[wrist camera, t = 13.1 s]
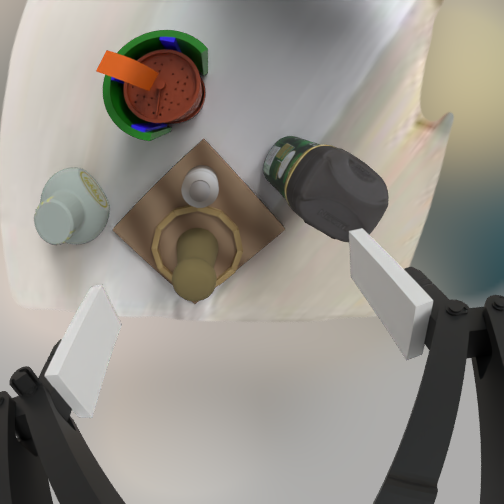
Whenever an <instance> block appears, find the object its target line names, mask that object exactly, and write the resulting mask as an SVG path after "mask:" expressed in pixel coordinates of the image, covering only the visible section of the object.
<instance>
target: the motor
mask: <svg viewBox="0 0 504 504" xmlns="http://www.w3.org/2000/svg"><path fill="white" fill-rule="evenodd" d="M96 71H97V72H100V73H103V74H105V77H104V82H103V99H104V104H105V107H106V110H107V112H108V114H109V116H110V118H111V119H112V121H113V122H114V123H115V124H116V125H117V126H118V127H119V128H120V129H121V130H122V131H124V132H125V133H127V134H129V135H131V136H133V137H135V138H138V139H142V140H147V141H151V140H153V139H155V138H158V137H160V136H162V135H165V134H167V133H169V132H171V128H172V127H167V125H168V124H165V123H172V124H174V123H181V122H185V121H187V120H189V119H191V118H193V117H194V116H195V115H196V114H197V113H198V112H199V111H200V110H201V108H202V106H203V104H204V101H205V86H204V83H203V81H202V79H201V77H200V75H199V72H201V73H202V74H203V76H204V75H205V74H207V73H208V48H207V47H206V46H205V45H204V44H203V43H202V42H200V41H199V40H198V39H196V38H194V37H193V36H191V35H189V34H186V33H183V32H179V31H174V30H159V31H153V32H149V33H146V34H143V35H141V36H139V37H137V38H135V39H133V40H131V41H130V42H129V43H127V44H126V45H125V46H124V47H122V48H121V49H120V50H119V52H118V53H114V52H111V51H108V50H107V51H106V53H105V55H104V57H103V58H102V60H101V62H100V64H99V66H98V68H97V70H96ZM198 71H199V72H198ZM164 122H165V123H164Z"/></svg>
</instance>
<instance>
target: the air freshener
mask: <svg viewBox="0 0 504 504" xmlns="http://www.w3.org/2000/svg"><path fill="white" fill-rule="evenodd" d="M109 208H110V207H109V203H108V200H107V198H106V196H105V194H104V193H103V191H102V189H101V188H100V186H99V185H98V184H97V182H96V181H95V180H94V179H93V177H92V176H91V175H90V174H89V173H88V172H86V171H85V170H84V169H81V168H67V169H63V170H61V171H59V172H57V173H56V174H54V175H53V176H52V177H51V178H50V179H49V180H48V182H47V183H46V185H45V187H44V189H43V191H42V195H41V201H40V204H39V206H38V208H37V209H36V213H35V216H34V222H35V227H36V230H37V232H38V234H39V235H40V236H41V238H42V239H43V240H44V241H46V242H47V243H50V244H52V245H58V244H60V245H61V244H63V243H69V244H76V245H77V244H84V243H87V242H89V241H91V240H93V239H94V238H96V237H97V236H98V235H99V234H100V233H101V232H102V230H103V229H104V227H105V225H106V223H107V220H108V216H109Z"/></svg>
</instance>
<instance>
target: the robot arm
mask: <svg viewBox="0 0 504 504" xmlns="http://www.w3.org/2000/svg"><path fill="white" fill-rule="evenodd" d="M349 244H350V267H351V278H352V279H353V281H354V282H355V284H356V285H357V286H358V288H359V289H360V291H361V292H362V294H363V295H364V297H365V298H366V300H367V301H368V302H369V304H370V305H371V307H372V308H373V310H374V311H375V313H376V314H377V316H378V317H379V319H380V320H381V322H382V323H383V325H384V326H385V328H386V329H387V331H388V332H389V334H390V336H391V337H392V339H393V340H394V342H395V343H396V345H397V346H398V348H399V349H400V351H401V353H402V354H403V356H404V357H405V359H406V360H409V359H412V358H414V357H417V356H419V355H422V353H423V349H424V344H425V345H426V346H427V347H428V349H429V350H430V351H429V355H428V358H427V362H426V366H425V370H424V374H423V377H422V381H421V384H420V388H419V391H418V394H417V397H416V401H415V404H414V407H413V410H412V413H411V416H410V418H409V421H408V424H407V427H406V430H405V432H404V435H403V438H402V440H401V443H400V445H399V448H398V451H397V453H396V455H395V457H394V460H393V462H392V465H391V467H390V469H389V471H388V473H387V476H386V478H385V480H384V482H383V484H382V486H381V488H380V490H379V493H378V494H377V496H376V499H375V501H374V502H373V504H434V502H435V499H436V496H437V492H438V489H437V483H438V479H439V477H440V474H441V470H442V467H443V464H444V461H445V458H446V454H447V451H448V447H449V444H450V440H451V436H452V432H453V428H454V424H455V420H456V415H457V411H458V406H459V401H460V396H461V391H462V385H463V379H464V372H465V365H466V358H472V364H473V370H474V377H475V383H476V391H477V400H478V410H479V421H480V437H481V494H480V504H504V297H503V296H499V295H493V296H490V297H488V298H487V300H486V302H485V306H484V307H478V308H469V307H468V306H467V305H466V304H465V303H463V302H462V301H458V300H449V299H448V298H447V297H446V296H445V295H444V294H443V293H442V292H441V291H440V290H439V289H438V288H437V287H436V286H435V285H434V284H432V282H431V281H430V280H429V279H427V277H426V276H425V275H424V274H423V273H422V272H421V271H420V270H417V269H415V268H413V267H409V268H405V269H403V268H402V267H401V266H400V265H399V264H398V263H397V262H396V261H395V260H394V259H393V258H392V257H391V256H390V255H389V254H388V253H387V252H386V251H385V250H384V249H383V248H382V247H381V246H380V245H379V244H378V243H377V242H376V241H375V240H374V239H373V238H372V237H371V236H370V235H369V234H368V233H367V232H366V231H365V230H364V229H363V228H361V229H357V230H352V231H349ZM121 325H122V324H121V322H120V320H119V318H118V316H117V314H116V312H115V310H114V308H113V306H112V304H111V302H110V300H109V297H108V295H107V293H106V291H105V289H104V287H103V284H102V285H97V286H92V287H90V289H89V291H88V293H87V294H86V296H85V298H84V300H83V301H82V303H81V305H80V307H79V308H78V310H77V312H76V314H75V316H74V318H73V320H72V321H71V323H70V325H69V327H68V329H67V331H66V333H65V334H64V336H63V338H62V339H61V340H60V341H59V342H58V343H57V344H56V345H55V346H54V347H53V349H52V351H51V353H50V356H49V357H48V360H47V362H46V363H45V365H44V367H43V369H42V372H41V374H40V376H39V378H37V376H36V375H35V373H34V372H33V371H32V369H31V368H30V367H22V368H20V369H18V370H17V371H16V372H14V374H13V375H12V376H11V379H10V385H11V387H12V388H13V389H14V390H15V392H16V393H17V394H18V395H19V396H17V397H14V398H11V396H10V395H9V394H8V393H7V392H6V391H2V392H0V504H53V501H52V497H51V492H50V487H49V481H50V484H51V486H52V488H53V490H54V492H55V495H56V497H57V499H58V501H59V503H60V504H125V502H124V501H123V500H122V498H121V497H120V495H119V494H118V493H117V491H116V490H115V488H114V487H113V485H112V484H111V483H110V481H109V479H108V478H107V476H106V475H105V473H104V472H103V470H102V469H101V467H100V466H99V464H98V462H97V461H96V459H95V457H94V456H93V454H92V452H91V451H90V449H89V447H88V446H87V444H86V442H85V440H84V438H83V437H82V435H81V433H80V431H79V429H78V428H77V426H76V424H75V422H74V420H73V419H72V418H71V417H70V413H71V410H73V411H74V412H75V414H76V415H77V416H78V417H80V418H92V417H93V414H94V410H95V407H96V403H97V400H98V396H99V393H100V389H101V386H102V383H103V379H104V376H105V373H106V370H107V367H108V364H109V360H110V357H111V354H112V351H113V348H114V345H115V342H116V339H117V336H118V334H119V330H120V328H121ZM16 436H17V438H16ZM48 479H49V481H48Z"/></svg>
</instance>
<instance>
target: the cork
mask: <svg viewBox="0 0 504 504" xmlns="http://www.w3.org/2000/svg"><path fill="white" fill-rule="evenodd" d="M218 247H219V246H218V242H217V239H216V238H215V236H214V235H213V234H212V233H211V232H209V231H208V230H205V229H203V228H192V229H188V230H187V231H185V232H184V233H182V235H181V236H180V237H179V239H178V241H177V264H178V265H177V266H176V267H175V269H174V272H173V275H172V284H173V287H174V290H175V291H176V293H177V294H178V295H179V296H181V297H182V298H184V299H186V300H189V301H200V300H204V299H205V298H207V297H209V296H210V295H211V294H212V293H213V291H214V289H215V286H216V280H217V277H216V273H215V270H214V265H215V261H216V258H217V254H218Z"/></svg>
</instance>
